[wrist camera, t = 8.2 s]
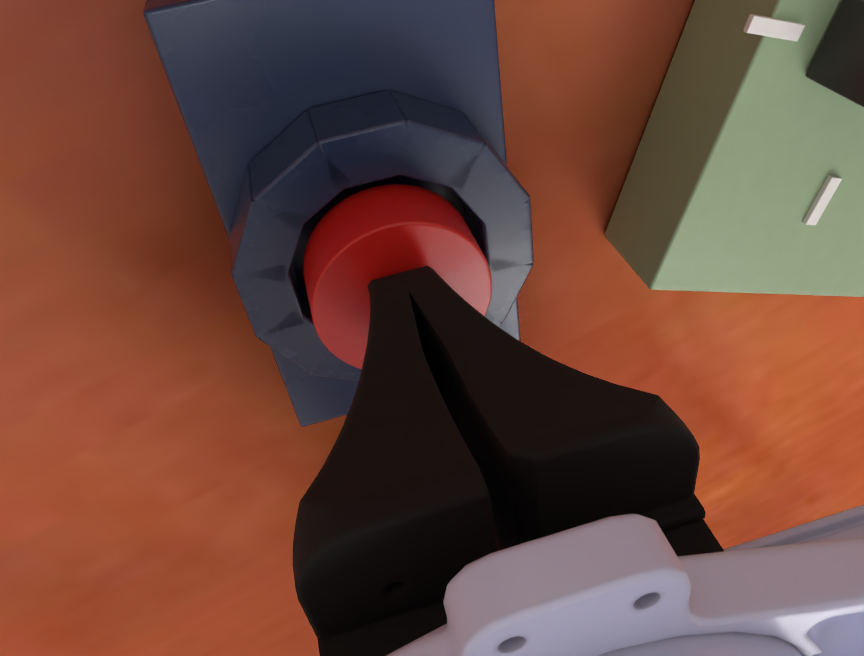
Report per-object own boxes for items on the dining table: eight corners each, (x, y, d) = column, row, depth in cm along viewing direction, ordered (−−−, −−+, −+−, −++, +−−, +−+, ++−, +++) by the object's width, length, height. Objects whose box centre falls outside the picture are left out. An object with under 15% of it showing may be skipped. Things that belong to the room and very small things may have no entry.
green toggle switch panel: (820, 248, 25) (887, 301, 22) (585, 234, 22) (633, 293, 19) (1126, -268, 17) (1281, -273, 14) (819, -400, 14) (949, -434, 11)
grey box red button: (505, 332, 23) (544, 406, 21) (295, 390, 23) (308, 474, 20) (466, -79, 16) (521, -46, 13) (146, -11, 15) (134, 39, 12)
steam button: (478, 304, 18) (499, 347, 17) (325, 346, 18) (335, 393, 17) (460, 163, 16) (484, 201, 14) (281, 208, 15) (289, 251, 14)
